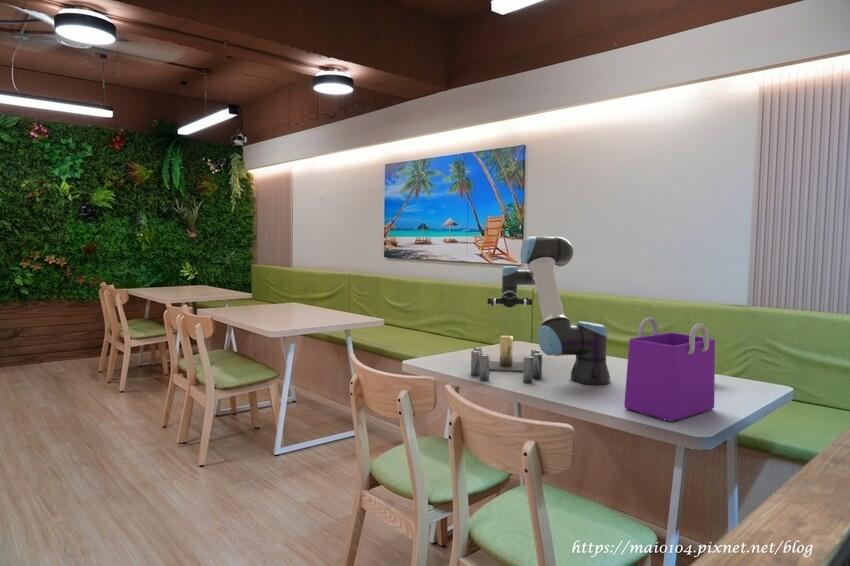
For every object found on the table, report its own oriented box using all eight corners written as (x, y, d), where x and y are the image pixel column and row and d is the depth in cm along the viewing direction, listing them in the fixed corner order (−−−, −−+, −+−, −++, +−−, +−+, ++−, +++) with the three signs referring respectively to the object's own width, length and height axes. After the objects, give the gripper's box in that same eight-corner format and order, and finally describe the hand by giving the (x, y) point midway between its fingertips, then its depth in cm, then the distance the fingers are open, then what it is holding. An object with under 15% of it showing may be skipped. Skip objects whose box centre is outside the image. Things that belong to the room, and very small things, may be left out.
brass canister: (515, 365, 239) (515, 336, 238) (506, 367, 235) (507, 337, 234) (505, 363, 243) (505, 334, 242) (496, 365, 239) (497, 336, 238)
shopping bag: (689, 427, 163) (694, 328, 161) (619, 411, 178) (622, 320, 176) (717, 407, 183) (722, 319, 181) (652, 394, 198) (655, 313, 196)
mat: (523, 364, 246) (523, 362, 246) (524, 372, 230) (525, 370, 230) (488, 362, 248) (488, 360, 248) (486, 370, 233) (487, 368, 232)
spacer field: (540, 373, 229) (540, 349, 228) (543, 383, 212) (543, 358, 211) (472, 370, 233) (472, 347, 232) (469, 380, 216) (470, 355, 215)
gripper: (535, 307, 261) (538, 312, 240) (483, 306, 265) (481, 310, 244) (535, 291, 261) (538, 295, 240) (483, 290, 264) (481, 294, 243)
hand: (509, 303), depth 242 cm, fingers open, 13 cm apart
